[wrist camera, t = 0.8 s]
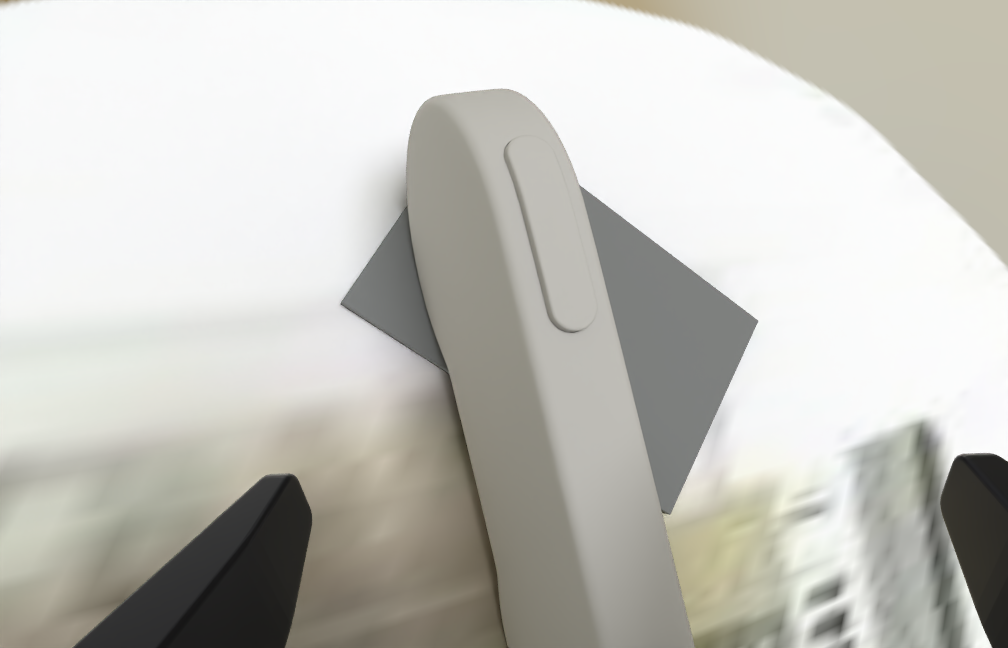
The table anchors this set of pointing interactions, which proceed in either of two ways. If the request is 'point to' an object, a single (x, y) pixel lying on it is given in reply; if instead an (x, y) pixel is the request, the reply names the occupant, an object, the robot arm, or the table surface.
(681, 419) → the mat
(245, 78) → the table surface
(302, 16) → the table surface
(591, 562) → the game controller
